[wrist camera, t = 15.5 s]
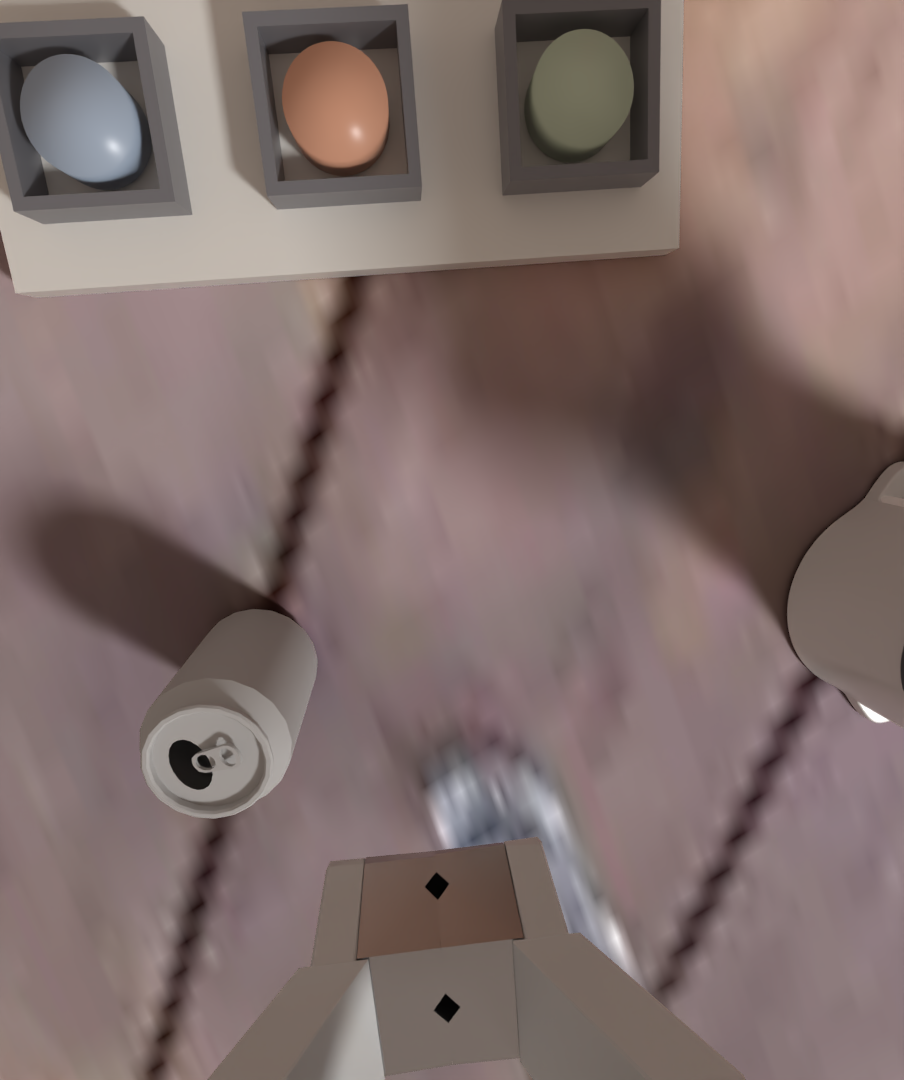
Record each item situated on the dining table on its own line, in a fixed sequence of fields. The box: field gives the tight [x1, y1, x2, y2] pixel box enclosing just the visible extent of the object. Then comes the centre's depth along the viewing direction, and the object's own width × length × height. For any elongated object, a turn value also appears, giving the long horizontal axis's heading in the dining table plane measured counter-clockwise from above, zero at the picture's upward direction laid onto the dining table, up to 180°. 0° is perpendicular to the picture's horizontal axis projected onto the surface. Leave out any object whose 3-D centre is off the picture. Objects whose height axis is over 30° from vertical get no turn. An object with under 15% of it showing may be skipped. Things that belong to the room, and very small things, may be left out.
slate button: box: [20, 54, 151, 190], centre depth 30 cm, size 5×5×2 cm
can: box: [140, 609, 318, 818], centre depth 35 cm, size 8×8×12 cm
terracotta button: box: [282, 41, 389, 176], centre depth 30 cm, size 5×5×2 cm
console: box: [0, 0, 684, 298], centre depth 31 cm, size 36×14×4 cm, turn 94°
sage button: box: [524, 29, 634, 163], centre depth 31 cm, size 5×5×2 cm
